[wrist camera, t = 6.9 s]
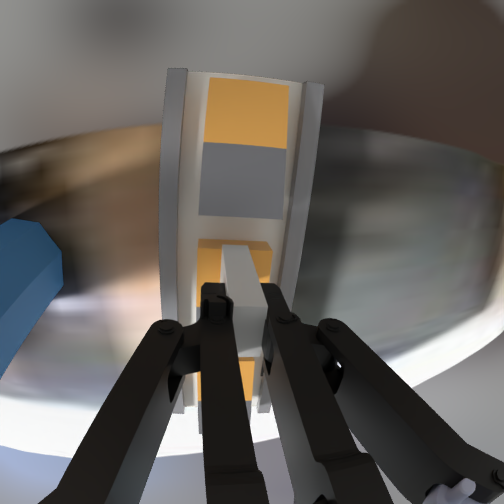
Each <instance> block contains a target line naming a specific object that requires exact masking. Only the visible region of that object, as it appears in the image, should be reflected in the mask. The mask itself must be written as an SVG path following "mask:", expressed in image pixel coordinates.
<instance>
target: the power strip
mask: <svg viewBox="0 0 504 504" xmlns="http://www.w3.org/2000/svg"><path fill="white" fill-rule="evenodd" d="M210 77H214V78H228V79H240V80H249V81H258V82H266V83H274V84H281V85H287V86H289V101H288V127H287V150H286V170H285V188H284V205H283V220H278V219H262V218H244V217H225V216H203V215H198V212H199V194H200V179H201V165H202V152H203V140H204V129H205V118H206V108H207V98H208V89H209V81H210ZM323 94H324V85H323V84H319V83H314V82H309V81H306V82H304V83H298V82H293V81H287V80H280V79H274V78H266V77H258V76H249V75H240V74H229V73H214V72H193V71H188V70H187V68H168V72H167V80H166V90H165V99H164V110H163V122H162V136H161V153H160V175H159V269H160V292H161V309H162V320H163V319H172V320H175V321H178V322H179V323H181V324H182V326H183V327H184V326H188V325H192V324H194V323H196V288H197V248H198V239H221V240H244V241H267V243H268V244H269V246H270V247H271V249H272V250H273V254H272V263H271V271H270V280H269V283H275V284H276V285H277V286H278V287H279V288H280V289H281V292H282V295H283V296H284V299H285V301H286V303H287V305H288V308H289V310H290V312H291V310H292V304H293V299H294V294H295V289H296V283H297V278H298V272H299V266H300V261H301V255H302V249H303V243H304V237H305V231H306V224H307V218H308V212H309V205H310V198H311V191H312V184H313V177H314V170H315V162H316V155H317V147H318V139H319V130H320V122H321V113H322V104H323ZM263 355H264V354H263V351H262V350H261V357H253V358H254V361H255V364H254V378H253V391H252V404H251V406H257V411H258V413H269V411H270V407H271V398H270V394H269V390H268V386H267V382H266V378H265V373H263V376H260V375H261V367H262V361H263ZM184 407H198V392H197V372H196V373H191V374H187V375H186V376H185V381H184V383H183V386H182V388H181V391H180V394H179V396H178V399H177V402H176V404H175V407H174V409H173V412H172V413H176V414H184Z"/></svg>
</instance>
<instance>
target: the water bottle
mask: <svg viewBox="0 0 504 504" xmlns="http://www.w3.org/2000/svg"><path fill="white" fill-rule="evenodd" d="M63 285H64V284H63V271H62V252H61V250H60V249H59V248H58V247H57V245H56V244H55V243H54V241H53V240H52V239H51V238H50V236H49V235H48V234H47V232H46V231H45V230H44V228H43V227H42V226H41V224H40V223H39V222H33V221H26V220H20V219H13V218H11V219H10V220H8V221H6V222H5V223H3V224H2V225H0V379H1V377H2V376H3V374H4V372H5V371H6V369H7V367H8V365H9V364H10V362H11V360H12V359H13V357H14V356H15V354H16V352H17V351H18V349H19V348H20V346H21V345H22V343H23V341H24V340H25V338H26V337H27V335H28V334H29V332H30V331H31V329H32V328H33V326H34V325H35V324H36V322H37V321H38V319H39V318H40V316H41V315H42V313H43V312H44V311H45V309H46V308H47V307H48V305H49V304H50V302H51V301H52V300H53V298H54V297H55V296H56V294H57V293H58V292H59V290H60V289H61V288H62V286H63Z"/></svg>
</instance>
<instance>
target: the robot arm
mask: <svg viewBox="0 0 504 504" xmlns="http://www.w3.org/2000/svg"><path fill="white" fill-rule="evenodd" d="M261 350H262V351H263V354H264V355H263V361H262V367H261V375H260V376H263V373H265V378H266V382H267V386H268V390H269V394H270V398H271V403H272V407H273V411H274V415H275V419H276V423H277V427H278V431H279V435H280V439H281V443H282V447H283V451H284V455H285V459H286V463H287V467H288V471H289V475H290V479H291V483H292V487H293V491H294V504H394V503H393V501H392V499H391V496H390V494H389V492H388V490H387V487H386V485H385V483H384V481H383V478H382V476H381V474H380V472H379V470H378V467H377V465H378V466H379V467H380V468H381V470H382V471H383V472H384V473H385V475H386V476H387V477H388V478H389V480H390V481H391V482H392V483H393V484H394V486H395V487H396V488H397V489H398V490H399V492H400V493H401V494H402V495H403V496H404V497H405V498H407V500H409V501H410V502H411V503H412V504H490V503H491V502H492V501H493V500H495V499H496V498H497V497H499V496H500V495H501V494H503V493H504V462H502V461H500V460H498V459H496V458H494V457H492V456H490V455H488V454H486V453H484V452H482V451H480V450H478V449H477V448H475V447H473V446H471V445H469V444H467V443H466V442H465V441H464V440H463V439H462V438H461V437H460V436H459V435H458V434H457V433H456V432H455V431H454V430H453V429H452V428H451V427H450V426H449V425H448V424H447V423H446V422H445V421H444V420H443V419H442V418H441V417H440V416H439V415H438V414H437V413H436V412H435V411H434V410H433V409H432V408H431V407H430V406H429V405H428V404H427V403H426V402H425V401H424V400H423V399H422V398H421V397H420V396H419V395H418V394H417V393H415V391H414V390H413V389H412V388H411V387H410V386H409V385H408V384H407V383H406V382H404V381H403V380H402V379H401V378H400V377H399V376H398V375H397V374H396V373H395V372H394V371H393V370H392V369H391V368H390V367H389V366H388V365H387V364H386V363H385V362H384V361H383V360H382V359H381V358H380V357H379V356H378V355H377V354H376V353H375V352H374V351H373V350H372V349H371V348H370V347H369V346H368V345H367V344H365V343H364V342H363V341H362V340H361V339H360V338H359V337H358V336H357V335H356V334H355V333H354V332H353V331H352V330H351V329H350V328H349V327H348V326H347V325H346V324H345V323H343V322H342V321H340V320H337V319H333V318H326V319H323V320H321V321H320V322H319V323H318V326H312V325H307V324H303V323H301V320H300V318H299V317H298V316H297V315H296V314H294V313H292V312H290V310H289V308H288V305H287V303H286V301H285V299H284V296H283V295H282V292H281V289H280V288H279V287H278V286H277V285H276V284H275V283H260V281H259V278H258V275H257V272H256V269H255V266H254V263H253V260H252V257H251V254H250V251H249V248H248V245H223V244H222V256H221V273H220V283H214V282H205V283H204V284H203V285H202V286H201V302H200V318H199V320H198V321H197V322H196V323H194V324H192V325H188V326H184V327H183V326H182V324H181V323H179V322H178V321H175V320H172V319H163V320H159V321H156V322H154V323H153V324H152V325H151V327H150V328H149V330H148V331H147V333H146V334H145V336H144V338H143V339H142V341H141V342H140V344H139V346H138V347H137V349H136V350H135V352H134V354H133V355H132V357H131V358H130V360H129V362H128V363H127V365H126V367H125V368H124V370H123V371H122V373H121V375H120V376H119V378H118V380H117V381H116V383H115V385H114V386H113V388H112V390H111V391H110V393H109V395H108V396H107V398H106V400H105V402H104V403H103V405H102V407H101V408H100V410H99V412H98V414H97V415H96V417H95V419H94V420H93V422H92V424H91V426H90V428H89V429H88V431H87V433H86V435H85V436H84V438H83V440H82V442H81V444H80V445H79V447H78V449H77V451H76V453H75V454H74V456H73V458H72V460H71V462H70V464H69V466H68V467H67V469H66V471H65V473H64V475H63V477H62V479H61V481H60V483H59V485H58V487H57V488H56V489H55V490H54V491H53V492H51V493H50V494H49V495H48V496H47V497H45V498H44V499H43V500H42V501H40V502H39V503H38V504H139V502H140V499H141V496H142V493H143V491H144V488H145V485H146V482H147V479H148V477H149V474H150V471H151V469H152V466H153V463H154V460H155V458H156V455H157V452H158V449H159V447H160V444H161V441H162V439H163V436H164V433H165V431H166V428H167V425H168V423H169V420H170V417H171V415H172V412H173V409H174V407H175V404H176V402H177V399H178V396H179V394H180V391H181V388H182V386H183V383H184V381H185V376H186V375H187V374H191V373H196V372H200V373H201V411H202V436H203V455H204V471H205V486H206V498H207V504H269V500H268V495H267V490H266V486H265V481H264V477H263V474H262V472H261V471H260V470H258V467H257V462H256V457H255V452H254V446H253V441H252V435H251V430H250V424H249V418H248V412H247V407H246V401H245V395H244V389H243V383H242V377H241V371H240V364H239V358H238V357H261ZM337 362H339V363H340V365H341V368H340V367H339V366H338V365H337ZM349 429H350V430H351V432H352V433H353V434H354V435H355V437H356V438H357V439H358V441H359V442H360V443H361V444H362V446H363V447H364V448H365V450H366V451H367V452H368V453H369V454H368V453H361V452H360V451H359V450H358V448H357V446H356V444H355V442H354V439H353V437H352V435H351V432H350V430H349ZM375 462H376V463H377V465H376V463H375Z"/></svg>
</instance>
